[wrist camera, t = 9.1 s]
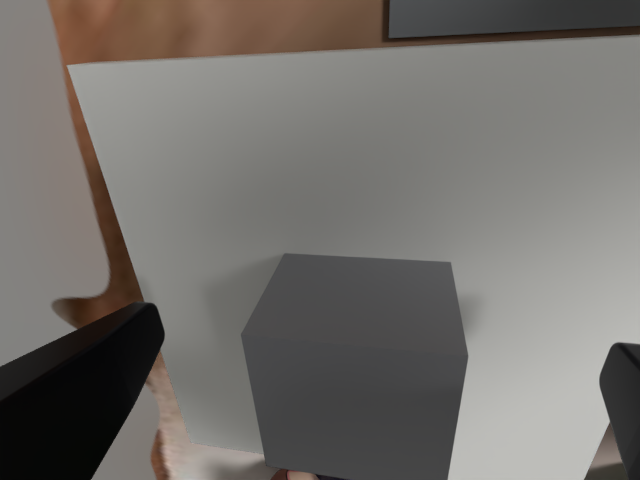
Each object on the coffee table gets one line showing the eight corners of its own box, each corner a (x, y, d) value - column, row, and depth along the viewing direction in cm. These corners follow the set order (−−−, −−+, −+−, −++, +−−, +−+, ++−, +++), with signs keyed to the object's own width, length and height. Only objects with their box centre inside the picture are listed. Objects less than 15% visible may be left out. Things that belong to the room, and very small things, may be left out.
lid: (745, 29, 7) (1068, 32, 3) (564, 477, 13) (618, 631, 10) (92, 62, 9) (-79, 82, 6) (200, 424, 15) (144, 532, 12)
